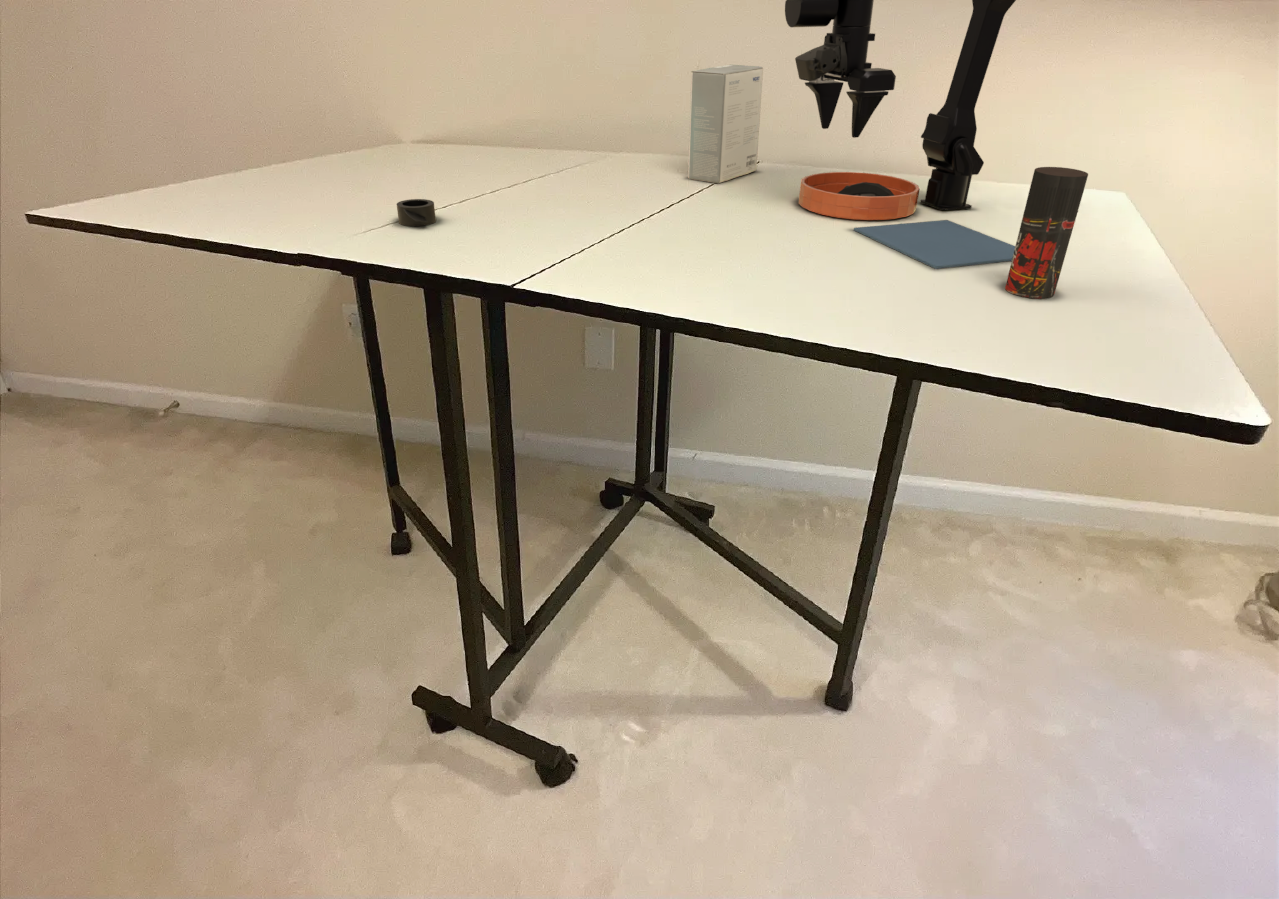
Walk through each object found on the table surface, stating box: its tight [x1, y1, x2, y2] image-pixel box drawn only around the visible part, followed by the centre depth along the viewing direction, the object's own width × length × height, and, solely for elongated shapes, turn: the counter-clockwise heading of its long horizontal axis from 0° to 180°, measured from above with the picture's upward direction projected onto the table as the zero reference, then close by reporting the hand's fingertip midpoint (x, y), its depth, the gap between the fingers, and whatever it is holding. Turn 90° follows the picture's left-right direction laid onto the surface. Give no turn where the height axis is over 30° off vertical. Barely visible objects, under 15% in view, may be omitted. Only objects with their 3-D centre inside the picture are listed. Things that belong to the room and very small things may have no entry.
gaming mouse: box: [837, 182, 895, 196], centre depth 142 cm, size 6×15×4 cm, turn 67°
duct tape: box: [396, 198, 437, 227], centre depth 130 cm, size 8×10×3 cm
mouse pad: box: [853, 219, 1016, 270], centre depth 124 cm, size 18×21×1 cm
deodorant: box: [1004, 166, 1089, 300], centre depth 101 cm, size 6×6×15 cm
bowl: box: [798, 171, 921, 221], centre depth 142 cm, size 20×20×4 cm
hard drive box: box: [687, 64, 764, 184], centre depth 160 cm, size 16×8×20 cm, turn 144°
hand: (839, 132), depth 133 cm, fingers open, 9 cm apart
